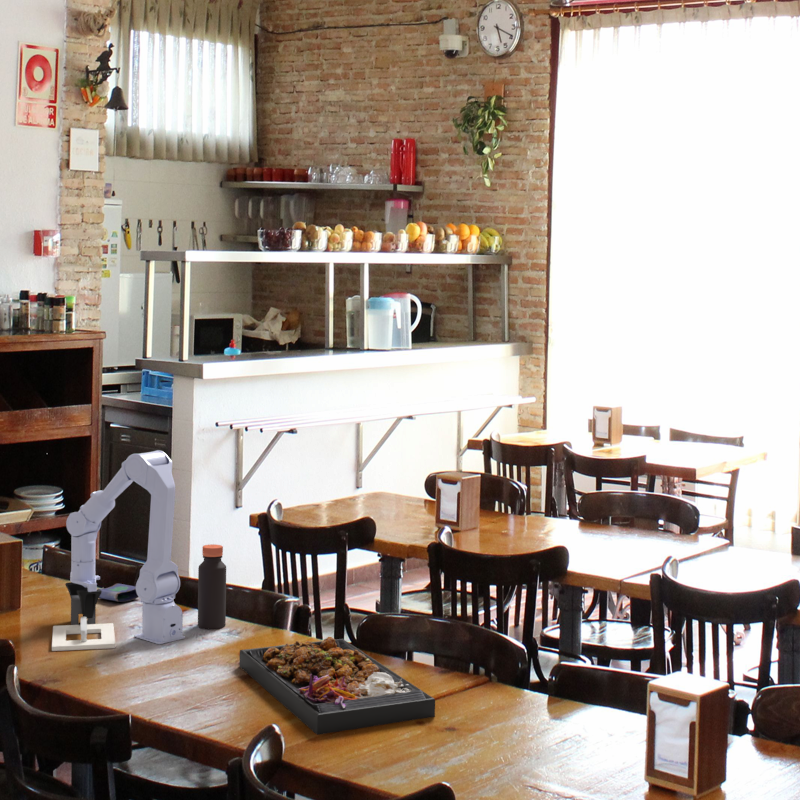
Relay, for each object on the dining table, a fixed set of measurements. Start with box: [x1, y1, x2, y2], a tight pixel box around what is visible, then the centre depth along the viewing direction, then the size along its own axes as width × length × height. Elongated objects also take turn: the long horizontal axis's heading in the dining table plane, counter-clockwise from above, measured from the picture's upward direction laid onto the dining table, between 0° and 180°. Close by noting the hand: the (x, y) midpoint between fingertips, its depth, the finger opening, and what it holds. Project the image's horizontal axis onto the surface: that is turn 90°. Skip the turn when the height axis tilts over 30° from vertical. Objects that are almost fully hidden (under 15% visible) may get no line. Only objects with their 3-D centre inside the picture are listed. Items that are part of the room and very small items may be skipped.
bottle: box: [197, 543, 227, 631], centre depth 294 cm, size 7×7×20 cm
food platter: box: [238, 636, 436, 736], centre depth 248 cm, size 45×25×10 cm, turn 26°
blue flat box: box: [97, 583, 139, 603], centre depth 319 cm, size 9×3×11 cm
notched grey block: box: [70, 595, 97, 625], centre depth 295 cm, size 6×5×6 cm
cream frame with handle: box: [51, 615, 117, 652], centre depth 282 cm, size 18×14×4 cm
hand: (83, 614), depth 295 cm, fingers open, 7 cm apart
